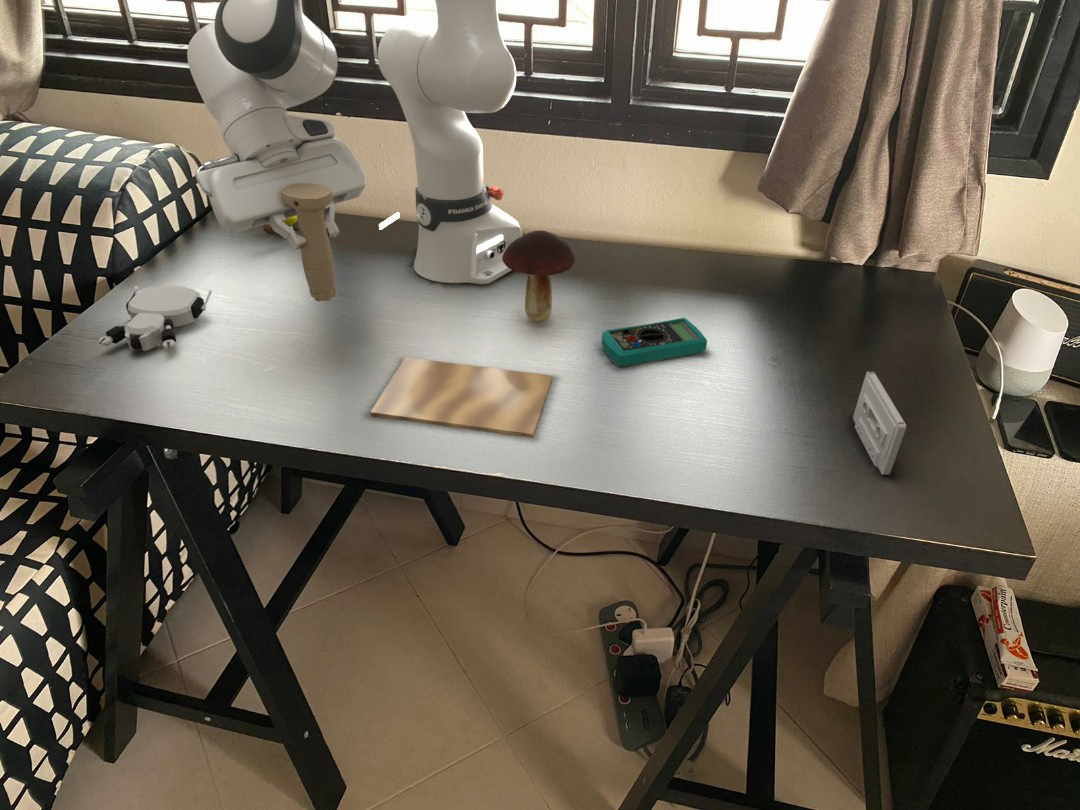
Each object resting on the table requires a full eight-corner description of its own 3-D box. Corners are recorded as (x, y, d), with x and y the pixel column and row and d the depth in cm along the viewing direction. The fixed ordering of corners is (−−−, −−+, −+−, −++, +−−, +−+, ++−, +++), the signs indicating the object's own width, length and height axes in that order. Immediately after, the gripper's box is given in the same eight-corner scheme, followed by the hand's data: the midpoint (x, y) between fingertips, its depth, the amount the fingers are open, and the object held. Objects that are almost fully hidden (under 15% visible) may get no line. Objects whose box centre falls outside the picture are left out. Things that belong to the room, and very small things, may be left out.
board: (370, 415, 108) (369, 412, 108) (404, 360, 119) (404, 357, 119) (533, 437, 105) (533, 434, 105) (552, 378, 116) (552, 375, 116)
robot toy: (180, 364, 119) (219, 308, 130) (172, 339, 116) (212, 284, 128) (98, 360, 120) (144, 304, 131) (88, 334, 117) (136, 280, 128)
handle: (334, 309, 108) (317, 201, 100) (293, 300, 110) (273, 193, 101) (353, 293, 112) (339, 188, 103) (313, 285, 114) (296, 180, 105)
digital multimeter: (597, 345, 124) (598, 328, 122) (685, 330, 128) (687, 314, 126) (615, 370, 118) (617, 353, 117) (707, 354, 122) (710, 337, 121)
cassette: (848, 418, 110) (862, 370, 105) (862, 418, 110) (877, 370, 105) (878, 476, 100) (895, 426, 96) (893, 476, 100) (911, 426, 96)
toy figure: (290, 213, 163) (285, 180, 159) (317, 215, 163) (312, 181, 159) (255, 251, 149) (248, 216, 145) (285, 253, 148) (279, 217, 144)
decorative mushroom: (561, 342, 124) (565, 251, 116) (493, 330, 127) (492, 241, 118) (579, 309, 133) (584, 222, 124) (515, 299, 135) (516, 213, 127)
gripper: (192, 152, 98) (247, 254, 98) (341, 118, 109) (390, 210, 109) (186, 178, 103) (237, 275, 103) (328, 143, 114) (375, 230, 114)
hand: (317, 241), depth 106 cm, fingers closed on handle, 3 cm apart
